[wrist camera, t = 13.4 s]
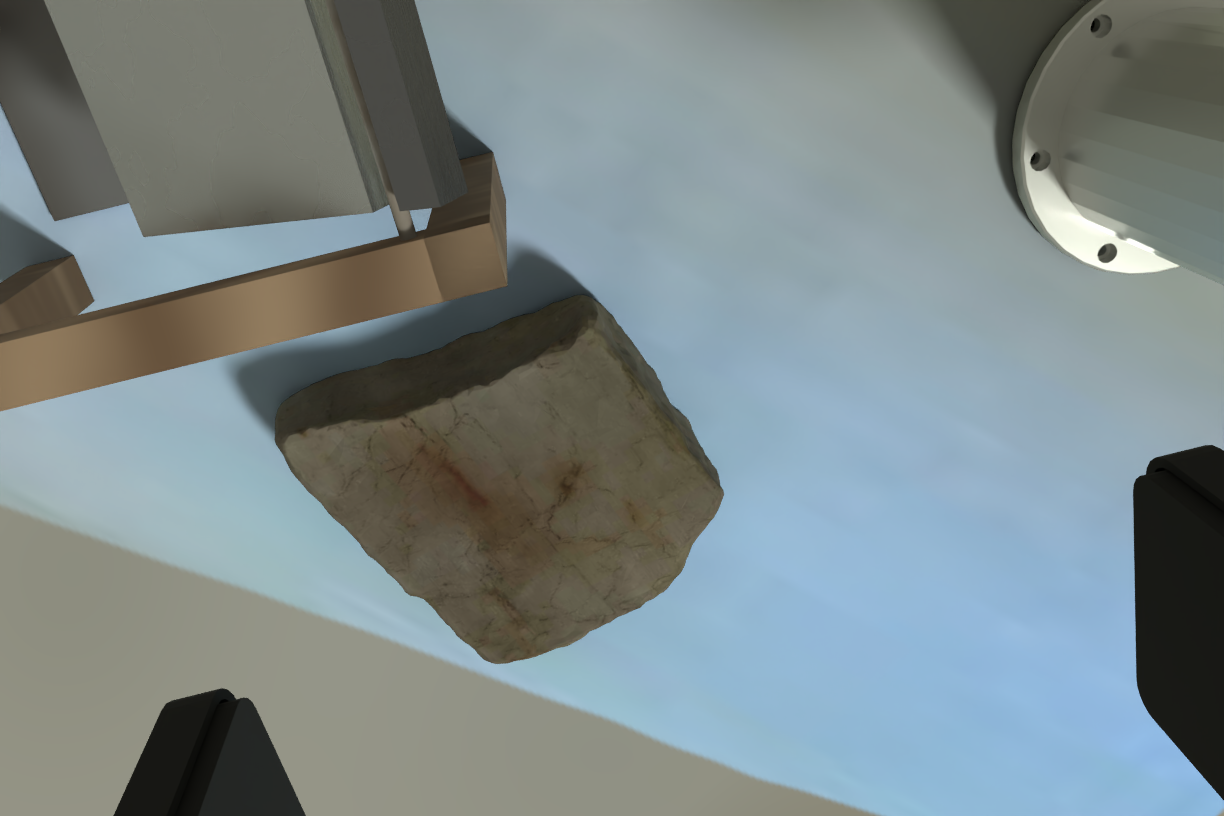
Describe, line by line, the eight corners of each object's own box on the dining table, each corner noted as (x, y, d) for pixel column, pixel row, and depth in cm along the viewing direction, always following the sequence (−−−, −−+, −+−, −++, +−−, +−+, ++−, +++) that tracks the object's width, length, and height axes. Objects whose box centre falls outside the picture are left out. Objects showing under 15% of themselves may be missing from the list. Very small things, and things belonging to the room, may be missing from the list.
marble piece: (272, 404, 46) (252, 444, 42) (547, 215, 44) (551, 239, 40) (496, 652, 52) (495, 707, 48) (744, 497, 50) (765, 541, 46)
